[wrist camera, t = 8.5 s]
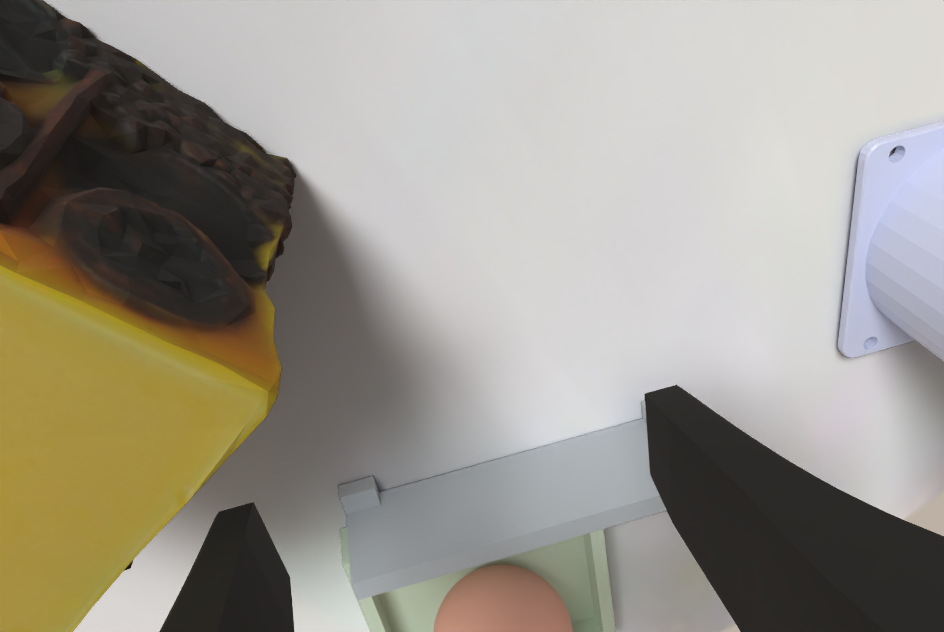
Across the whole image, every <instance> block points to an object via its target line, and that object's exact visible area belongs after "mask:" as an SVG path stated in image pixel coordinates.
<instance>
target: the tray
mask: <svg viewBox="0 0 944 632" xmlns="http://www.w3.org/2000/svg"><path fill="white" fill-rule="evenodd" d="M340 537H341V552H342V565H343V568H344V570H345V572H346V575H347V577H348V579H349V582H350V584H351V575H350V562H349V550H348V537H347V527H346V528H342V529H340ZM498 564H508V565H514V566H518V567H523V568H525V569H528V570H530V571H532V572H534V573H536V574H537V575H539V576H540V577H542V578H543V579H544V580H546V581H547V582H548V583H549V584H550V585H551V586H552V587H553V588H554V589H555V590H556V592H557V593H558V594H559V596H560V597H561V599H562V600H563V602H564V604H565V606H566V608H567V610H568V613H569V616H570V619H571V623H572V628H573V632H616V630H615V621H614V613H613V605H612V597H611V588H610V580H609V572H608V563H607V555H606V547H605V539H604V530H603V529H602V530H599V531H595V532H592V533H588V534H585V535H581V536H578V537H575V538H571V539H568V540H564V541H561V542H557V543H554V544H550V545H547V546H544V547H540V548H537V549H533V550H530V551H526V552H523V553H519V554H516V555H513V556H509V557H506V558H502V559H499V560H495V561H492V562H488V563H485V564H482V565H478V566H475V567H471V568H468V569H464V570H461V571H457V572H454V573H450V574H447V575H444V576H440V577H437V578H433V579H430V580H426V581H423V582H419V583H416V584H413V585H409V586H406V587H402V588H399V589H395V590H392V591H388V592H385V593H382V594H378V595H375V596H371V597H368V598H364V599H361V600H358V599H357V597H356V599H357V601H358V603H359V606H360V608H361V610H362V613H363V615H364V618H365V620H366V622H367V625H368V627H369V630H370V632H433V630H434V623H435V619H436V616H437V612H438V610H439V607H440V605H441V603H442V601H443V599H444V598H445V596H446V595H447V593H448V592H449V591H450V589H451V588H452V587H453V586H454V585H455V584H456V583H457V582H458V581H459V580H460V579H462V578H463V577H464V576H466V575H467V574H469V573H471V572H472V571H474V570H477V569H479V568H482V567H485V566H490V565H498ZM351 587H352V585H351ZM352 589H353V587H352ZM353 591H354V590H353ZM354 594H355V592H354ZM355 596H356V594H355Z"/></svg>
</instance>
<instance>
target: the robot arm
mask: <svg viewBox="0 0 944 632" xmlns="http://www.w3.org/2000/svg"><path fill="white" fill-rule="evenodd" d="M895 147H896V150H895V152H894V154H893V155H892V156H890V157H889V154H890V152H891V151H892V149H893V148H895ZM868 338H869V339H868ZM867 339H868V340H867ZM866 340H867V341H866ZM865 341H866V342H865ZM912 341H917V342H919V343H920V344H921V345H923V346H924V347H925V348H927V349H928V350H929V351H930V352H932V353H933V354H934V355H936V356H937V357H938V358H940V359H941V360H942V361H943V362H944V121H942V122H938V123H934V124H931V125H927V126H923V127H919V128H915V129H911V130H907V131H903V132H899V133H895V134H892V135H888V136H884V137H880V138H876V139H874V140H871V141H869V142H868V143H867V144H866V145H865V146H864V147H863V149H862V150H861V152H860V155H859V158H858V167H857V177H856V186H855V195H854V204H853V213H852V222H851V231H850V240H849V249H848V258H847V267H846V276H845V285H844V294H843V303H842V312H841V321H840V330H839V339H838V349H839V351H840V352H841V353H842V354H843V355H845V356H846V357H848V358H855V357H858V356H862V355H866V354H869V353H873V352H876V351H880V350H884V349H887V348H891V347H894V346H898V345H901V344H905V343H909V342H912ZM645 407H646V422H647V437H648V452H649V467H650V475H651V477H652V480H653V482H654V484H655V486H656V488H657V491H658V493H659V495H660V497H661V499H662V502H663V504H664V506H665V508H666V510H667V512H668V514H669V516H670V518H671V520H672V522H673V524H674V526H675V527H676V529H677V531H678V532H679V534H680V535H681V537H682V539H683V540H684V542H685V543H686V545H687V547H688V548H689V550H690V552H691V553H692V555H693V556H694V558H695V560H696V561H697V563H698V564H699V566H700V567H701V569H702V571H703V572H704V574H705V575H706V577H707V579H708V580H709V582H710V583H711V585H712V586H713V588H714V590H715V591H716V593H717V594H718V596H719V598H720V599H721V601H722V602H723V604H724V606H725V607H726V609H727V610H728V612H729V613H730V615H731V617H732V618H733V620H734V621H735V623H736V625H737V626H738V628H739V630H740V631H741V632H944V536H941V535H939V534H936V533H934V532H931V531H929V530H927V529H924V528H922V527H919V526H917V525H914V524H912V523H909V522H907V521H905V520H902V519H900V518H898V517H895V516H893V515H891V514H889V513H886V512H884V511H882V510H880V509H878V508H876V507H874V506H872V505H869V504H867V503H865V502H863V501H861V500H859V499H857V498H855V497H853V496H851V495H849V494H847V493H845V492H843V491H841V490H839V489H837V488H835V487H833V486H831V485H830V484H828V483H826V482H824V481H822V480H821V479H819V478H817V477H815V476H814V475H812V474H810V473H808V472H807V471H805V470H803V469H801V468H800V467H798V466H796V465H795V464H793V463H791V462H790V461H788V460H786V459H785V458H783V457H782V456H780V455H778V454H777V453H775V452H774V451H772V450H771V449H769V448H768V447H766V446H764V445H763V444H761V443H760V442H758V441H757V440H755V439H754V438H752V437H750V436H749V435H747V434H746V433H744V432H743V431H742V430H740V429H739V428H737V427H736V426H734V425H733V424H731V423H730V422H728V421H727V420H726V419H724V418H723V417H721V416H720V415H718V414H717V413H716V412H714V411H713V410H711V409H710V408H709V407H707V406H706V405H704V404H703V403H702V402H700V401H699V400H697V399H696V398H695V397H693V396H692V395H690V394H689V393H688V392H686V391H685V390H683V389H682V388H680V387H679V386H677V385H675V386H671V387H667V388H664V389H660V390H657V391H653V392H649V393H646V394H645ZM160 632H294V622H293V608H292V597H291V585H290V577H289V575H288V572H287V570H286V568H285V566H284V564H283V562H282V560H281V558H280V556H279V554H278V552H277V550H276V548H275V546H274V544H273V542H272V539H271V537H270V535H269V533H268V531H267V529H266V527H265V525H264V523H263V521H262V519H261V517H260V515H259V513H258V511H257V509H256V506H255V504H254V502H253V503H249V504H245V505H242V506H238V507H235V508H231V509H227V510H224V511H220V512H219V513H218V514H217V516H216V517H215V519H214V521H213V524H212V526H211V528H210V530H209V532H208V534H207V537H206V539H205V541H204V543H203V545H202V547H201V550H200V552H199V554H198V556H197V558H196V560H195V562H194V564H193V566H192V569H191V571H190V573H189V575H188V577H187V579H186V581H185V583H184V585H183V587H182V589H181V591H180V593H179V595H178V597H177V599H176V601H175V603H174V605H173V607H172V609H171V611H170V612H169V614H168V616H167V618H166V620H165V622H164V624H163V626H162V628H161V630H160Z"/></svg>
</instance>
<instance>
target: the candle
mask: <svg viewBox="0 0 944 632" xmlns="http://www.w3.org/2000/svg"><path fill="white" fill-rule="evenodd" d="M295 177H296V174H295V172H294V170H293V168H292V166H291V164H290V162H289V160H288V159H287V158H284V157H279V156H274V155H268V154H265V153H264V151H263V148H262V147H260V146H259V145H258V144H257V143H256V142H255V141H254V140H253V139H252V138H251V137H250V136H248V135H247V134H246V133H245V132H242V131H240V130H237V129H235V128H233V127H232V126H230V125H228V124H226V123H224V122H223V121H222V120H221V119H220V118H219V117H218V116H217V115H216V114H215V113H214V112H213V111H212V110H211V109H210V108H209V107H208V106H207V105H206V104H205V103H203V102H201V101H199V100H197V99H195V98H193V97H191V96H189V95H187V94H185V93H183V92H181V91H179V90H177V89H176V88H174V87H173V86H172V85H170V84H169V83H168V82H166V81H165V80H164V79H162V78H161V77H160V76H158V75H157V74H155V73H154V72H153V71H151V70H150V69H149V68H147V67H146V66H145V65H143V64H142V63H141V62H139V61H138V60H136V59H135V58H133V57H131V56H129V55H127V54H125V53H123V52H122V51H120V50H118V49H116V48H114V47H112V46H110V45H108V44H106V43H104V42H101V41H99V40H97V39H94V37H93V36H92V34H91V33H90V31H89V30H88V29H87V28H86V27H85V26H83V25H82V24H81V23H79V22H76V21H73V20H70V19H67V18H64V17H63V16H62V15H61V14H59V13H58V12H57V11H56V10H55V9H53V8H52V7H51V6H50V5H48V4H47V3H46V2H45V1H43V0H0V632H73V631H74V630H75V628H76V627H77V626H78V625H79V623H80V622H81V621H82V620H83V618H84V617H85V616H86V614H87V613H88V612H89V611H90V609H91V608H92V607H93V606H94V604H95V603H96V602H97V601H98V600H99V599H100V597H101V596H102V595H103V594H104V593H105V592H106V591H107V589H108V588H109V587H110V586H111V585H112V584H113V582H114V581H115V580H116V579H117V578H118V577H119V575H120V574H121V573H122V572H123V571H125V570H127V569H129V568H131V565H132V562H133V559H134V558H135V557H136V556H137V555H138V554H139V552H140V551H141V550H142V549H143V548H144V547H145V546H146V545H147V544H148V543H149V542H150V541H151V540H152V539H153V538H154V537H155V536H156V535H157V534H158V532H159V531H160V530H161V529H162V528H163V527H164V526H165V525H166V524H167V523H168V522H169V521H170V520H171V519H172V518H173V517H174V516H175V515H176V514H177V513H178V511H179V510H180V509H181V508H182V507H183V506H184V505H185V504H186V503H187V502H188V501H189V500H190V499H191V498H192V497H193V496H194V495H195V493H196V492H197V491H198V490H199V489H200V488H201V487H202V486H203V485H204V484H205V483H206V481H207V480H208V479H209V478H210V477H211V476H212V475H213V474H214V473H215V472H216V471H217V469H218V468H219V467H220V466H221V465H222V464H223V463H224V462H225V461H226V460H227V458H228V457H229V456H230V455H231V454H232V453H233V452H234V451H235V450H236V449H237V448H238V447H239V446H240V444H241V443H242V442H243V441H244V440H245V439H246V438H247V437H248V436H249V435H250V434H251V433H252V432H253V431H254V429H255V428H256V427H257V426H258V425H259V424H260V423H261V422H262V421H263V420H264V419H265V418H266V416H267V415H268V413H269V411H270V409H271V408H272V406H273V404H274V402H275V400H276V399H277V396H278V389H279V382H280V375H281V365H280V361H279V358H278V354H277V350H276V347H275V343H274V339H273V332H274V316H275V307H274V306H273V304H272V302H271V301H270V299H269V297H268V295H267V294H266V292H265V285H266V281H269V280H270V278H271V276H272V274H273V272H274V267H275V259H276V258H277V257H279V256H280V255H282V254H283V252H284V247H283V241H284V240H285V239H286V238H287V237H288V235H289V233H290V231H291V228H292V222H291V216H290V213H289V209H290V208H291V206H290V204H291V202H292V199H293V197H292V195H293V190H294V178H295Z"/></svg>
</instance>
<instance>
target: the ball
mask: <svg viewBox="0 0 944 632" xmlns="http://www.w3.org/2000/svg"><path fill="white" fill-rule="evenodd" d="M433 632H573V628H572V623H571V619H570V616H569V613H568V610H567V608H566V606H565V604H564V602H563V600H562V599H561V597H560V596H559V594H558V593H557V592H556V590H555V589H554V588H553V587H552V586H551V585H550V584H549V583H548V582H547V581H546V580H544V579H543V578H542V577H540V576H539V575H537V574H536V573H534V572H532V571H530V570H528V569H525V568H523V567H518V566H514V565H508V564H498V565H490V566H485V567H482V568H479V569H477V570H474V571H472V572H471V573H469V574H467V575H466V576H464V577H463V578H462V579H460V580H459V581H458V582H457V583H456V584H455V585H454V586H453V587H452V588H451V589H450V591H449V592H448V593H447V595H446V596H445V598H444V599H443V601H442V603H441V605H440V607H439V610H438V612H437V616H436V619H435V623H434V630H433Z"/></svg>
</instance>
